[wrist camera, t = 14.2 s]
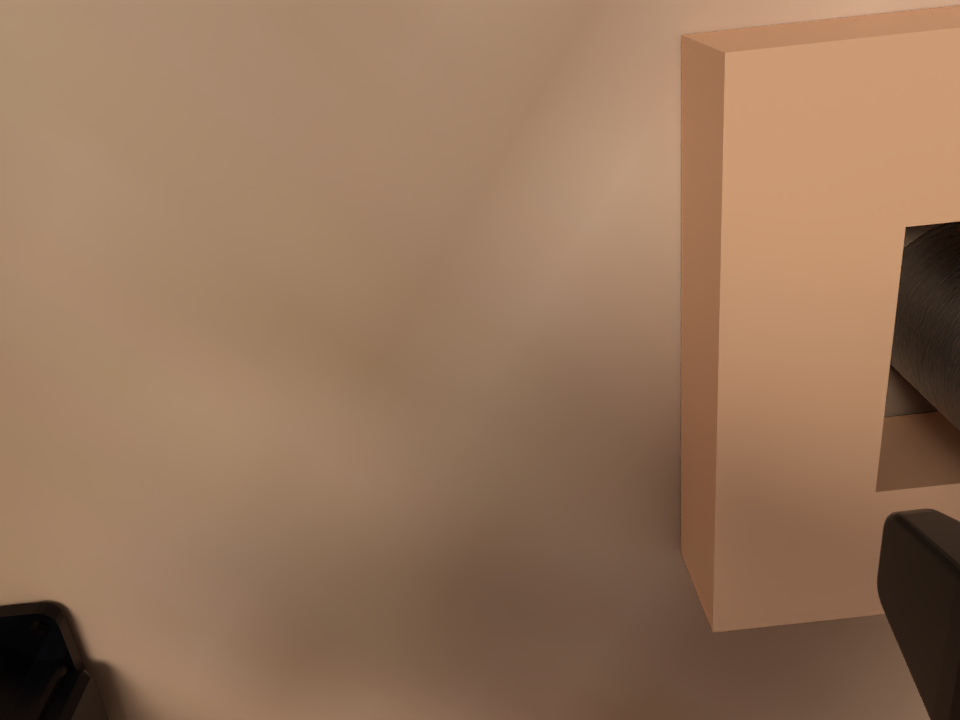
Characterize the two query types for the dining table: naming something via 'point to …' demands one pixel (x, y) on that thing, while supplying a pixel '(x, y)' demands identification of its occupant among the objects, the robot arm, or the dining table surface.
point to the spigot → (931, 319)
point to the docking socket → (807, 304)
